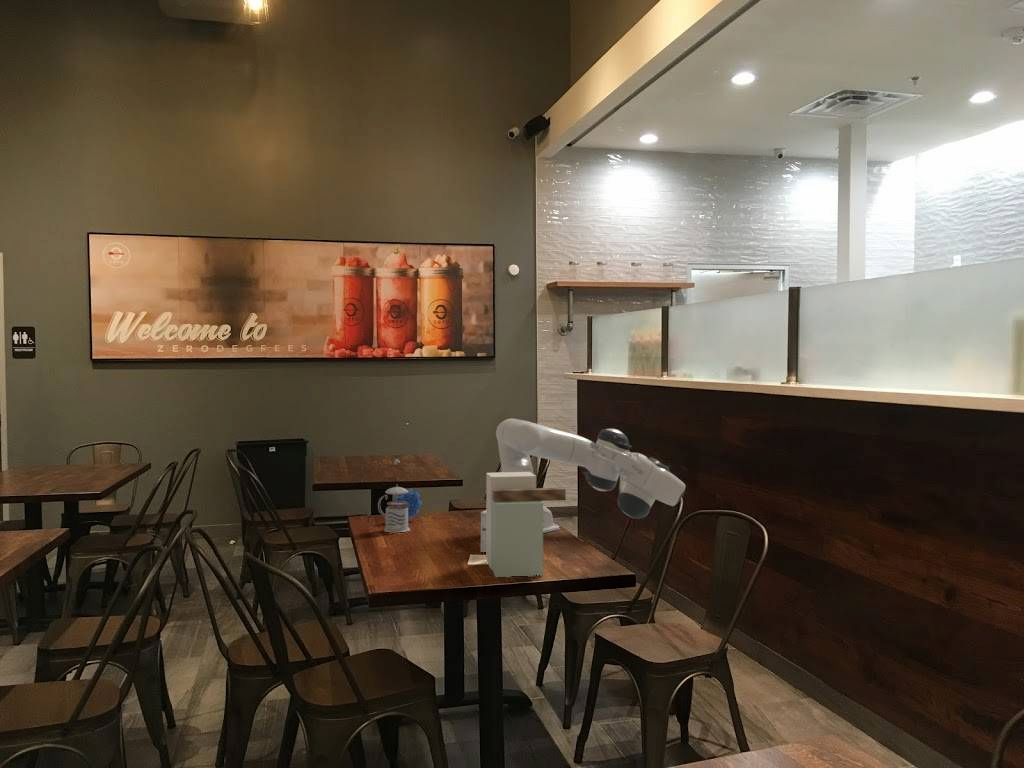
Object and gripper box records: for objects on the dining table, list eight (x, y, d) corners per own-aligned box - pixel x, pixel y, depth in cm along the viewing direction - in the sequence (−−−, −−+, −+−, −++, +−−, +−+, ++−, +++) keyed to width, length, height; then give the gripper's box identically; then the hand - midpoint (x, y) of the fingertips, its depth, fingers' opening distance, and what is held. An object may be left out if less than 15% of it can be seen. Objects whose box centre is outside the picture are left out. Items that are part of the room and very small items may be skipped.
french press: (406, 534, 264) (406, 461, 263) (373, 532, 266) (373, 460, 265) (414, 528, 273) (414, 458, 273) (383, 527, 275) (383, 457, 275)
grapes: (419, 518, 292) (419, 486, 291) (423, 521, 285) (423, 489, 285) (389, 520, 288) (388, 488, 288) (391, 523, 282) (391, 491, 281)
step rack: (529, 559, 229) (529, 471, 228) (543, 575, 210) (543, 480, 209) (486, 560, 226) (486, 472, 226) (495, 577, 208) (495, 481, 207)
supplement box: (479, 553, 236) (479, 512, 236) (488, 547, 243) (488, 508, 243) (502, 555, 234) (502, 513, 234) (510, 549, 241) (510, 509, 241)
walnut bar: (563, 498, 217) (563, 487, 217) (565, 500, 214) (565, 489, 214) (492, 500, 214) (492, 489, 213) (494, 502, 211) (494, 491, 211)
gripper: (641, 484, 211) (599, 459, 209) (619, 474, 231) (581, 451, 229) (652, 464, 211) (610, 439, 210) (630, 456, 232) (591, 433, 230)
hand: (595, 445), depth 220 cm, fingers open, 8 cm apart
